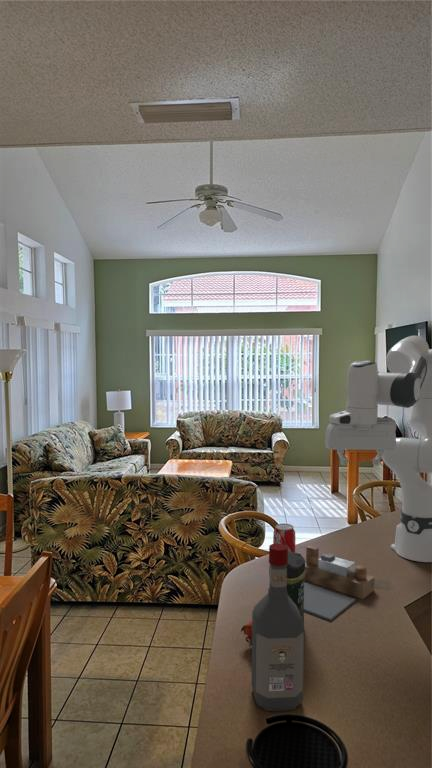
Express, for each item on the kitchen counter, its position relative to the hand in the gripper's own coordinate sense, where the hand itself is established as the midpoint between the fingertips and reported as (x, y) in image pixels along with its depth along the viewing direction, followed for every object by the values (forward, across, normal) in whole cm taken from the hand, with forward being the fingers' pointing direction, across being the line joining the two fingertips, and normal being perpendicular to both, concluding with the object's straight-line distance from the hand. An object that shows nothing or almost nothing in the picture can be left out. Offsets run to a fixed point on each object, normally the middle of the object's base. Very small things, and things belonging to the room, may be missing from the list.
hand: (359, 464), depth 151 cm
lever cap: (+31, +6, -1) cm, 32 cm away
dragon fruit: (+36, +32, +31) cm, 57 cm away
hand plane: (+35, +6, -1) cm, 36 cm away
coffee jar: (+36, +26, +23) cm, 50 cm away
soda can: (+36, +18, -17) cm, 43 cm away
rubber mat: (+36, +15, +8) cm, 40 cm away
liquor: (+36, +33, +47) cm, 68 cm away
